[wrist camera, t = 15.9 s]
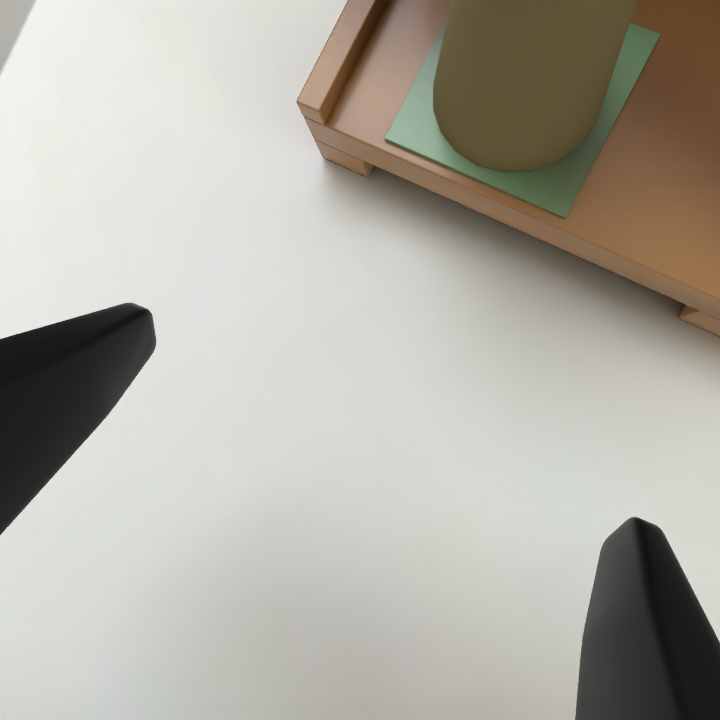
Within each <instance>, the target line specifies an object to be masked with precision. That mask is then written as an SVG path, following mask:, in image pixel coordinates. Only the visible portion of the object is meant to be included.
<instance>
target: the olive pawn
mask: <svg viewBox="0 0 720 720" xmlns="http://www.w3.org/2000/svg"><path fill="white" fill-rule="evenodd" d="M636 3H637V0H451V4H450V8H449V13H448V18H447V22H446V27H445V32H444V36H443V41H442V46H441V50H440V55H439V60H438V64H437V69H436V74H435V78H434V83H433V111H434V113H435V116H436V119H437V122H438V125H439V128H440V131H441V133H442V134H443V136H444V137H445V138H446V139H447V141H448V142H449V143H450V145H451V146H452V147H453V148H454V150H455V151H456V152H457V153H459V154H460V155H462V156H463V157H465V158H467V159H468V160H470V161H471V162H473V163H474V164H476V165H477V166H481V167H485V168H489V169H492V170H496V171H500V172H522V171H532V170H535V169H538V168H541V167H544V166H547V165H550V164H552V163H555V162H557V161H559V160H560V159H562V158H563V157H564V156H566V155H567V154H569V153H570V152H571V151H573V150H574V149H575V148H577V147H578V146H580V144H581V143H582V142H583V140H584V139H585V138H586V136H587V135H588V134H589V132H590V131H591V130H592V128H593V127H594V126H595V124H596V122H597V119H598V116H599V113H600V110H601V107H602V104H603V101H604V98H605V95H606V92H607V89H608V86H609V83H610V80H611V77H612V74H613V71H614V68H615V65H616V62H617V59H618V56H619V53H620V51H621V48H622V45H623V42H624V39H625V36H626V33H627V30H628V27H629V24H630V21H631V18H632V15H633V12H634V9H635V6H636Z"/></svg>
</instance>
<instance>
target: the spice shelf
mask: <svg viewBox="0 0 720 720" xmlns="http://www.w3.org/2000/svg"><path fill="white" fill-rule="evenodd" d="M450 4H451V0H348V2H347V3H346V5H345V7H344V9H343V11H342V13H341V15H340V17H339V19H338V21H337V23H336V25H335V27H334V29H333V31H332V33H331V35H330V37H329V39H328V41H327V43H326V44H325V46H324V48H323V50H322V52H321V54H320V56H319V58H318V60H317V62H316V64H315V66H314V68H313V70H312V72H311V74H310V76H309V78H308V80H307V82H306V84H305V85H304V87H303V89H302V91H301V93H300V95H299V97H298V99H297V104H298V106H299V108H300V110H301V112H302V114H303V116H304V118H305V120H306V122H307V125H308V127H309V129H310V131H311V133H312V135H313V137H314V139H315V142H316V144H317V146H318V148H319V150H320V152H321V154H322V156H323V157H324V158H326V159H328V160H330V161H332V162H335V163H337V164H339V165H341V166H344V167H346V168H348V169H350V170H352V171H355V172H357V173H359V174H361V175H363V176H366V177H368V176H369V175H370V173H371V171H372V169H373V167H374V166H377V167H379V168H381V169H383V170H386V171H388V172H390V173H392V174H395V175H397V176H399V177H401V178H404V179H406V180H408V181H410V182H413V183H415V184H417V185H419V186H421V187H424V188H426V189H428V190H430V191H433V192H435V193H437V194H439V195H442V196H444V197H446V198H448V199H451V200H453V201H455V202H457V203H460V204H462V205H464V206H466V207H468V208H471V209H473V210H475V211H477V212H480V213H482V214H484V215H486V216H489V217H491V218H493V219H495V220H498V221H500V222H502V223H504V224H507V225H509V226H511V227H513V228H515V229H518V230H520V231H522V232H524V233H527V234H529V235H531V236H533V237H536V238H538V239H540V240H542V241H545V242H547V243H549V244H551V245H554V246H556V247H558V248H560V249H562V250H565V251H567V252H569V253H571V254H574V255H576V256H578V257H580V258H583V259H585V260H587V261H589V262H592V263H594V264H596V265H598V266H601V267H603V268H605V269H607V270H609V271H612V272H614V273H616V274H618V275H621V276H623V277H625V278H627V279H630V280H632V281H634V282H636V283H639V284H641V285H643V286H645V287H648V288H650V289H652V290H654V291H656V292H659V293H661V294H663V295H665V296H668V297H670V298H672V299H674V300H677V301H679V302H681V303H683V304H685V306H684V308H683V310H682V312H681V314H680V315H679V318H680V319H682V320H684V321H686V322H689V323H691V324H693V325H695V326H697V327H700V328H702V329H704V330H706V331H708V332H711V333H713V334H715V335H717V336H719V337H720V0H637V3H636V6H635V9H634V12H633V15H632V18H631V21H630V24H629V27H628V30H627V33H626V36H625V39H624V42H623V45H622V48H621V51H620V53H619V56H618V59H617V62H616V65H615V68H614V71H613V74H612V77H611V80H610V83H609V86H608V89H607V92H606V95H605V98H604V101H603V104H602V107H601V110H600V113H599V116H598V119H597V122H596V124H595V126H594V127H593V128H592V130H591V131H590V132H589V134H588V135H587V136H586V138H585V139H584V140H583V142H582V143H581V144H580V146H578V147H577V148H575V149H574V150H573V151H571V152H570V153H569V154H567V155H566V156H564V157H563V158H562V159H560V160H559V161H557V162H555V163H552V164H550V165H547V166H544V167H541V168H538V169H535V170H532V171H522V172H500V171H496V170H492V169H489V168H485V167H481V166H477V165H476V164H474V163H473V162H471V161H470V160H468V159H467V158H465V157H463V156H462V155H460V154H459V153H457V152H456V151H455V150H454V148H453V147H452V146H451V145H450V143H449V142H448V141H447V139H446V138H445V137H444V136H443V134H442V133H441V131H440V128H439V125H438V122H437V119H436V116H435V113H434V111H433V83H434V78H435V74H436V69H437V64H438V60H439V55H440V50H441V46H442V41H443V36H444V32H445V27H446V22H447V18H448V13H449V8H450Z"/></svg>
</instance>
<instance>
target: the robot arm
mask: <svg viewBox="0 0 720 720" xmlns="http://www.w3.org/2000/svg"><path fill="white" fill-rule="evenodd" d="M155 346H156V336H155V330H154V323H153V317H152V314H151V312H150V311H149V310H148V309H146V308H144V307H141V306H139V305H136V304H134V303H124V304H121V305H117V306H114V307H110V308H107V309H103V310H100V311H96V312H93V313H89V314H86V315H83V316H79V317H76V318H72V319H69V320H65V321H62V322H58V323H55V324H51V325H48V326H44V327H41V328H37V329H34V330H30V331H27V332H23V333H20V334H16V335H13V336H9V337H6V338H3V339H0V535H1V534H2V533H3V532H4V530H5V529H6V528H7V527H8V526H9V525H10V524H11V523H12V522H13V520H14V519H15V518H16V517H17V516H18V515H19V514H20V513H21V512H22V510H23V509H24V508H25V507H26V506H27V505H28V504H29V503H30V501H31V500H32V499H33V498H34V497H35V496H36V495H37V494H38V493H39V491H40V490H41V489H42V488H43V487H44V486H45V485H46V484H47V483H48V481H49V480H50V479H51V478H52V477H53V476H54V475H55V474H56V473H57V471H58V470H59V469H60V468H61V467H62V466H63V465H64V464H65V463H66V461H67V460H68V459H69V458H70V457H71V456H72V455H73V454H74V452H75V451H76V450H77V449H78V448H79V447H80V446H81V445H82V444H83V442H84V441H85V440H86V439H87V438H88V437H89V436H90V435H91V434H92V432H93V431H94V430H95V429H96V428H97V427H98V426H99V425H100V423H101V422H102V421H103V420H104V419H105V418H106V416H107V415H108V414H109V413H110V412H111V410H112V409H113V408H114V406H115V405H116V404H117V402H118V401H119V400H120V398H121V397H122V395H123V394H124V393H125V391H126V390H127V388H128V387H129V386H130V384H131V383H132V381H133V380H134V379H135V377H136V376H137V374H138V373H139V372H140V370H141V369H142V368H143V366H144V365H145V363H146V362H147V361H148V359H149V358H150V356H151V355H152V353H153V352H154V350H155ZM575 720H720V642H719V640H718V638H717V636H716V634H715V632H714V630H713V628H712V626H711V625H710V623H709V621H708V619H707V617H706V615H705V613H704V611H703V609H702V607H701V605H700V603H699V601H698V599H697V597H696V595H695V593H694V591H693V589H692V587H691V585H690V584H689V582H688V580H687V578H686V576H685V574H684V572H683V570H682V568H681V566H680V564H679V562H678V560H677V558H676V556H675V554H674V552H673V550H672V548H671V546H670V544H669V542H668V541H667V539H666V537H665V535H664V533H663V531H662V530H661V529H660V528H659V527H658V526H656V525H654V524H652V523H649V522H647V521H645V520H642V519H640V518H637V517H632V518H629V519H628V520H627V521H626V522H624V523H623V524H622V525H621V526H620V527H619V528H618V529H617V530H616V531H614V532H613V533H612V534H611V535H610V536H609V537H608V538H607V539H606V540H605V542H604V544H603V546H602V548H601V552H600V556H599V561H598V566H597V571H596V575H595V580H594V585H593V589H592V594H591V599H590V604H589V608H588V613H587V618H586V623H585V628H584V633H583V640H582V648H581V658H580V670H579V682H578V693H577V705H576V717H575Z"/></svg>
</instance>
